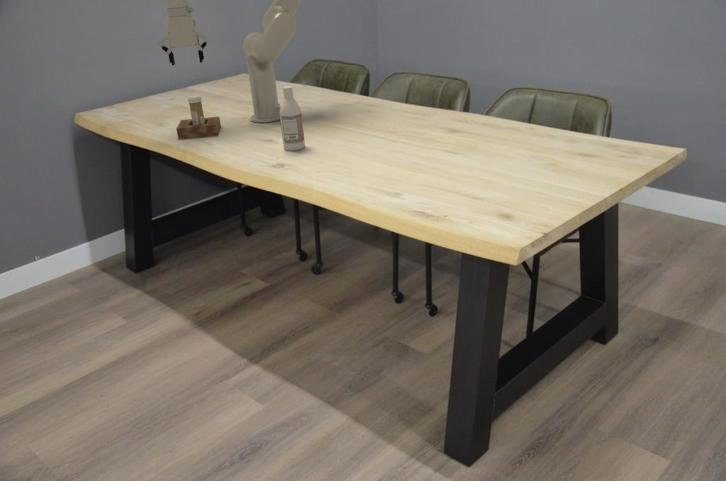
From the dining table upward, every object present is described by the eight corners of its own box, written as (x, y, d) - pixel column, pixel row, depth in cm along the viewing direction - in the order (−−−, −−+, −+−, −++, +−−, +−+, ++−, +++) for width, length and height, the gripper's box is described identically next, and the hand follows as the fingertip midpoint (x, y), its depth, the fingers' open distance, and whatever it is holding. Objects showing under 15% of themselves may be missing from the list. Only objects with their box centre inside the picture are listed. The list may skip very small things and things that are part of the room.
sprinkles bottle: (208, 133, 260) (202, 96, 254) (196, 135, 258) (190, 98, 252) (204, 130, 264) (197, 94, 258) (192, 133, 261) (185, 96, 256)
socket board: (220, 127, 267) (219, 116, 265) (218, 135, 256) (216, 124, 254) (182, 130, 266) (180, 120, 264) (178, 139, 255) (176, 128, 253)
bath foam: (307, 149, 233) (301, 87, 225) (287, 152, 231) (279, 90, 223) (301, 143, 239) (295, 83, 231) (281, 147, 237) (274, 86, 229)
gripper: (205, 8, 249) (213, 59, 256) (154, 13, 248) (163, 63, 255) (203, 11, 243) (211, 62, 250) (151, 16, 241) (161, 67, 248)
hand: (187, 63), depth 252 cm, fingers open, 9 cm apart
